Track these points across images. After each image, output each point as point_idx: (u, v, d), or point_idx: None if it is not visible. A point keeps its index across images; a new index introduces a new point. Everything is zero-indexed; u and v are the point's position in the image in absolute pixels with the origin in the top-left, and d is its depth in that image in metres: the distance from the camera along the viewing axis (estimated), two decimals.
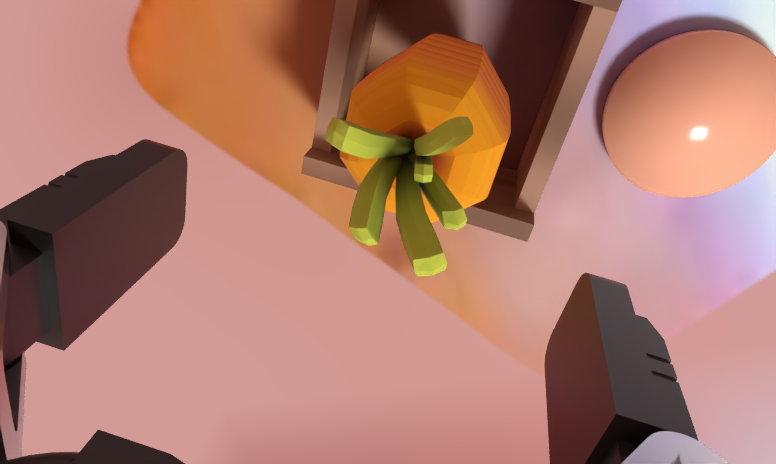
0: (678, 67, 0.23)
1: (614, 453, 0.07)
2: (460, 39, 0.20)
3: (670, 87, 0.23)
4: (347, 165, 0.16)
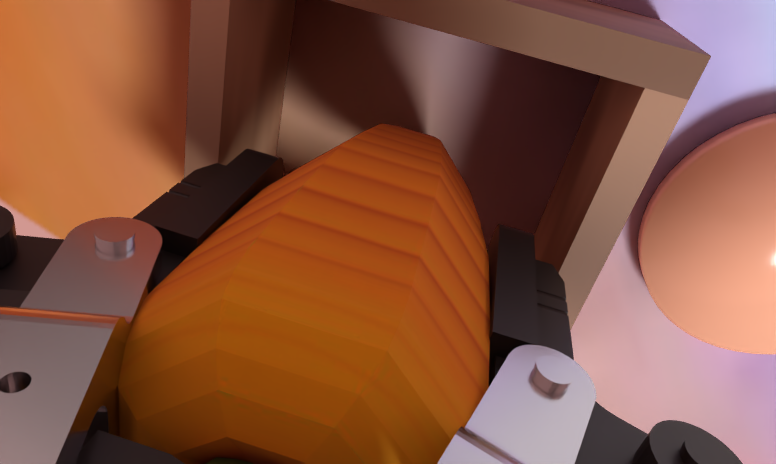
0: (768, 169, 0.14)
1: (493, 368, 0.08)
2: (403, 140, 0.11)
3: (753, 198, 0.14)
4: None
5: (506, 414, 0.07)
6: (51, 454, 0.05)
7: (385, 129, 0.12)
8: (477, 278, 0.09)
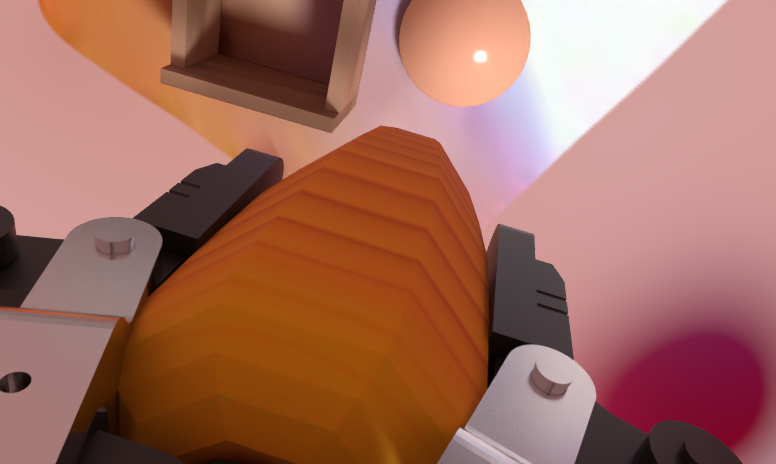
0: (445, 0, 0.30)
1: (492, 368, 0.08)
2: (403, 143, 0.11)
3: (442, 16, 0.30)
4: None
5: (505, 414, 0.07)
6: (51, 454, 0.05)
7: (385, 131, 0.12)
8: (476, 281, 0.09)
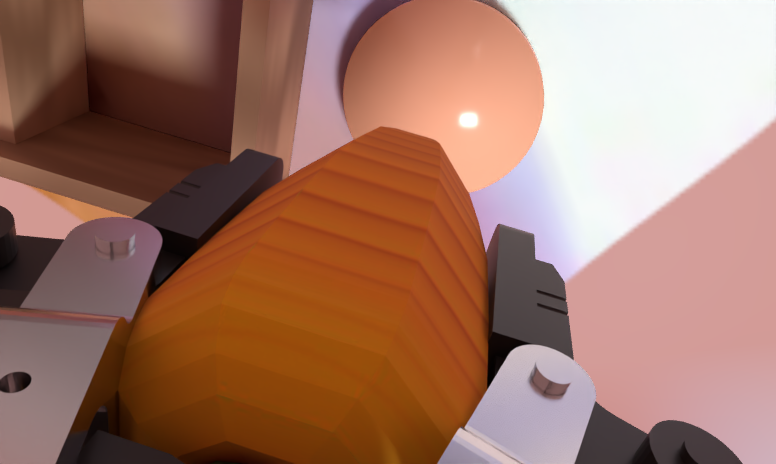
0: (410, 41, 0.19)
1: (493, 368, 0.08)
2: (403, 143, 0.11)
3: (406, 65, 0.19)
4: None
5: (506, 414, 0.07)
6: (51, 454, 0.05)
7: (384, 132, 0.12)
8: (476, 281, 0.09)
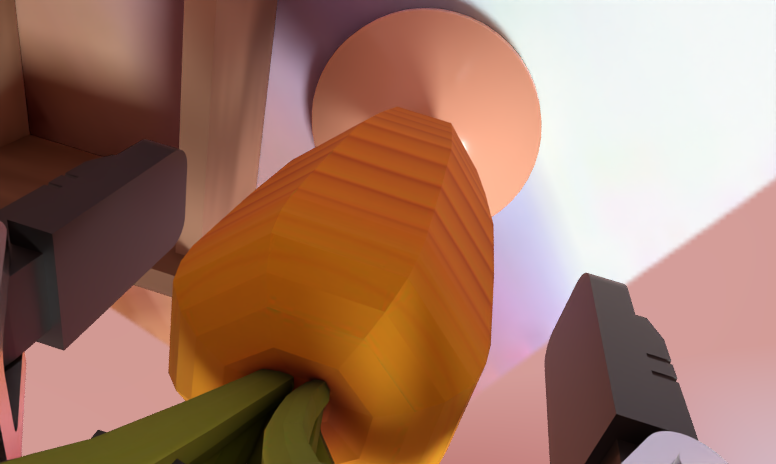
0: (387, 61, 0.16)
1: (614, 453, 0.07)
2: (418, 120, 0.13)
3: (383, 88, 0.17)
4: None
5: None
6: None
7: (401, 111, 0.13)
8: (483, 238, 0.10)
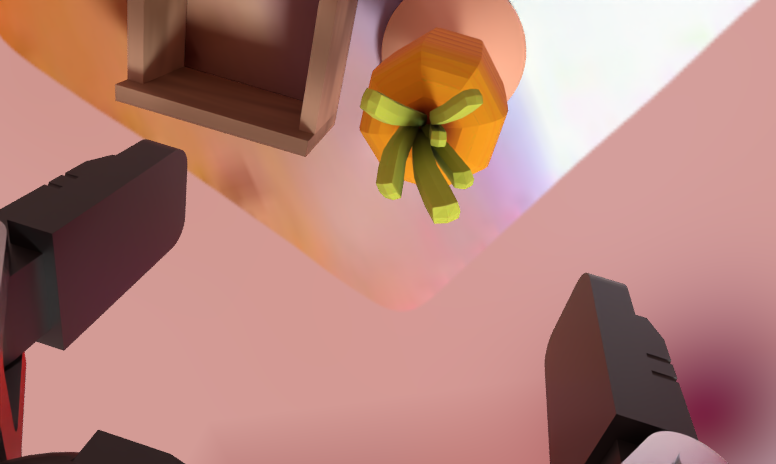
0: (431, 9, 0.27)
1: (614, 453, 0.07)
2: None
3: (428, 27, 0.27)
4: (366, 138, 0.19)
5: None
6: None
7: None
8: (500, 81, 0.20)
